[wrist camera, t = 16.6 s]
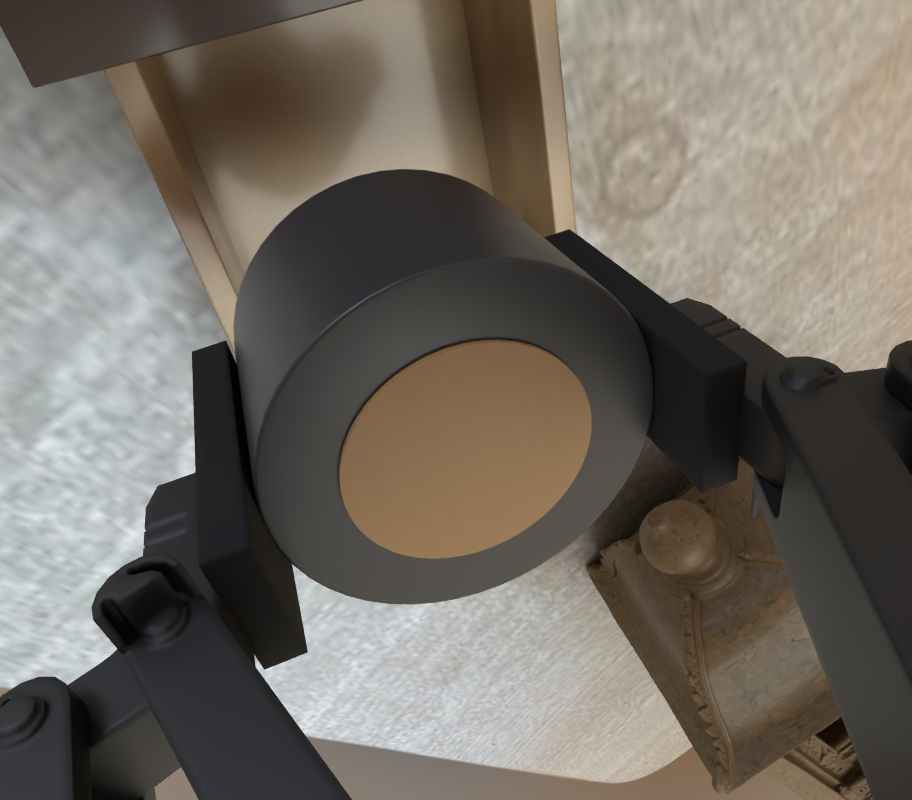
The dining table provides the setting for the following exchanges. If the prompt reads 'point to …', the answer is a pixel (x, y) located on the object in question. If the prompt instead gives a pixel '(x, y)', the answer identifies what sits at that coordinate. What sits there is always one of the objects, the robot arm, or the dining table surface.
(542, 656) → the dining table surface
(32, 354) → the dining table surface
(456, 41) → the drawer
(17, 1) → the cabinet
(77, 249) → the dining table surface
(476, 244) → the tape roll
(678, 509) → the ornamental box
